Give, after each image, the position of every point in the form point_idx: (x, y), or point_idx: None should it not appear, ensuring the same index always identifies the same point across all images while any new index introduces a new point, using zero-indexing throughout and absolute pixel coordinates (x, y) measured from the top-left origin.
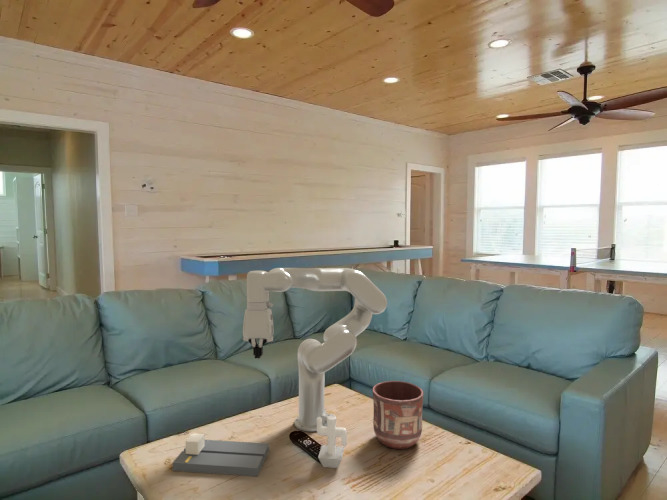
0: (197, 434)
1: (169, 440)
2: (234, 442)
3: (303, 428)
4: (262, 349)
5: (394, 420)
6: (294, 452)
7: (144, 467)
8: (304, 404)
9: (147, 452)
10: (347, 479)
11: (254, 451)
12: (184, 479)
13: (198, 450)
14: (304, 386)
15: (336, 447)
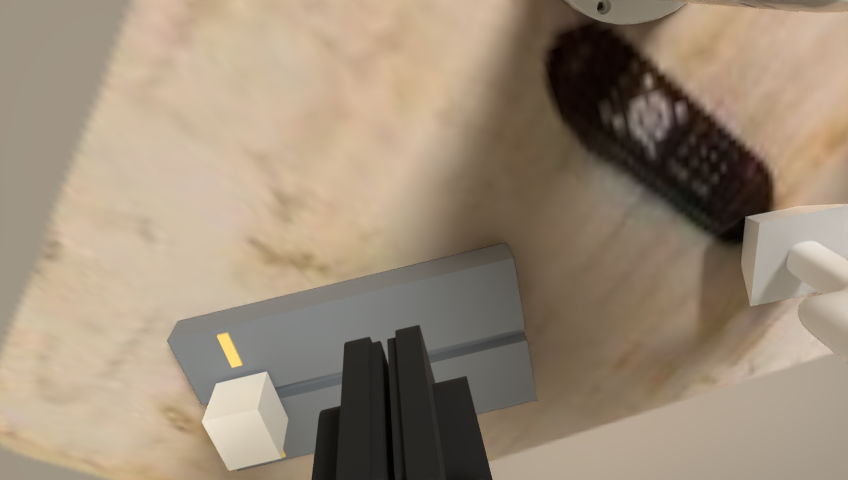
0: (230, 420)
1: (40, 320)
2: (363, 301)
3: (615, 23)
4: (485, 453)
5: None
6: (612, 216)
7: (138, 465)
8: (683, 1)
9: (52, 408)
10: None
11: (480, 326)
12: None
13: (285, 426)
14: (775, 6)
15: (823, 218)
